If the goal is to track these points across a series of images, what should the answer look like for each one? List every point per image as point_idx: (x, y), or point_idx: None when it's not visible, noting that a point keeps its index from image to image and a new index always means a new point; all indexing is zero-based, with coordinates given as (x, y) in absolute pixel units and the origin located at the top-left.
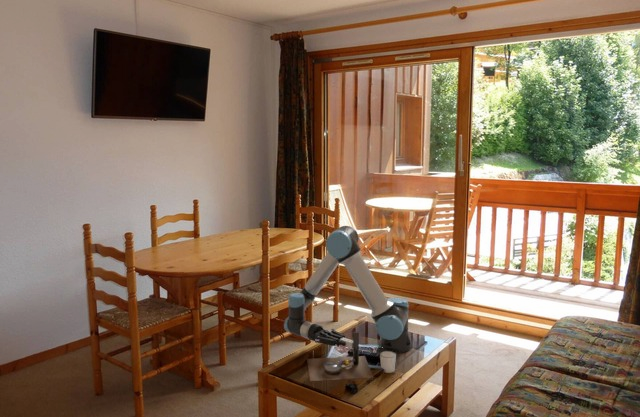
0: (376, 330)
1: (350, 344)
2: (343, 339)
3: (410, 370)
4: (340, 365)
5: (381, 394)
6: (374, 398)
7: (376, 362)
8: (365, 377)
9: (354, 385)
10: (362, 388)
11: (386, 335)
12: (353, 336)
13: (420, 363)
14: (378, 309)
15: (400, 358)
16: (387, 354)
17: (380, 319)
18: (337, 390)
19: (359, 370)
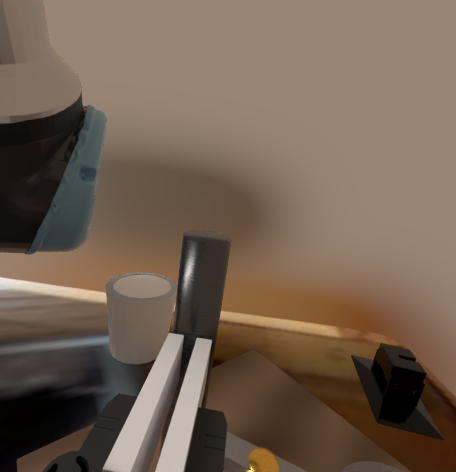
0: (83, 212)
1: (207, 366)
2: (174, 429)
3: None
4: (351, 469)
5: (302, 328)
6: (334, 336)
7: (69, 398)
8: (276, 369)
9: (392, 348)
10: (325, 374)
11: (90, 223)
12: (224, 273)
13: (60, 291)
14: (52, 58)
15: (12, 332)
16: (143, 287)
17: (103, 129)
18: (440, 451)
19: (239, 410)
